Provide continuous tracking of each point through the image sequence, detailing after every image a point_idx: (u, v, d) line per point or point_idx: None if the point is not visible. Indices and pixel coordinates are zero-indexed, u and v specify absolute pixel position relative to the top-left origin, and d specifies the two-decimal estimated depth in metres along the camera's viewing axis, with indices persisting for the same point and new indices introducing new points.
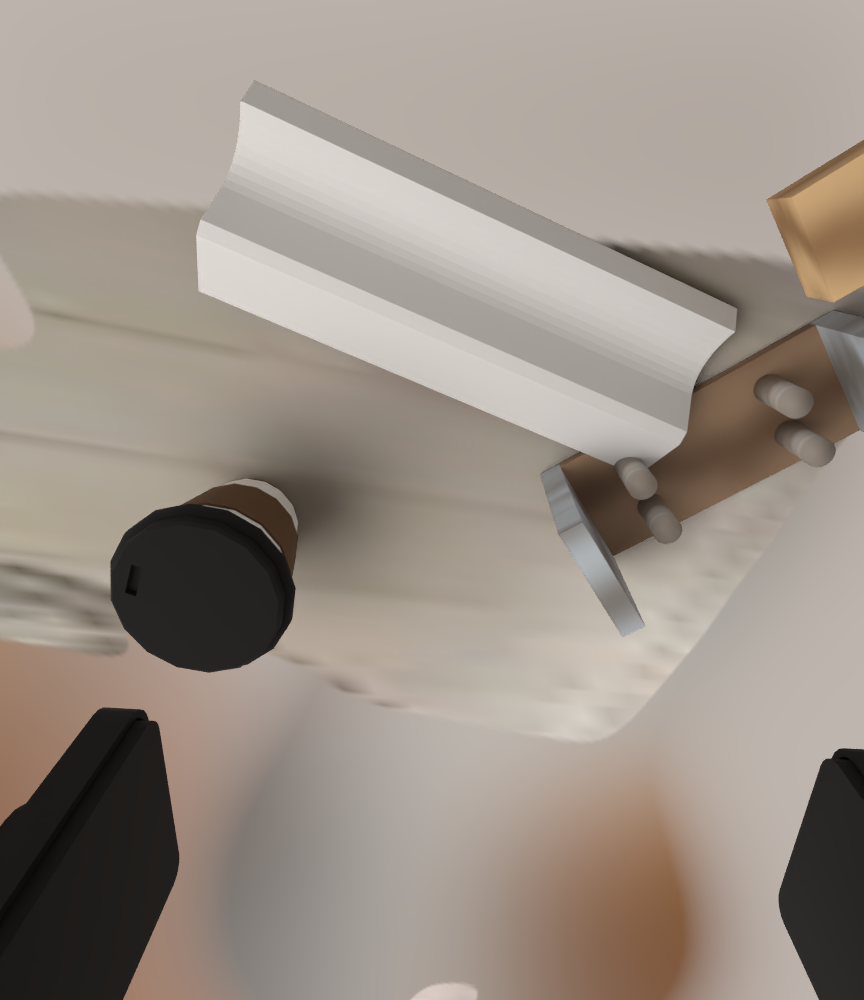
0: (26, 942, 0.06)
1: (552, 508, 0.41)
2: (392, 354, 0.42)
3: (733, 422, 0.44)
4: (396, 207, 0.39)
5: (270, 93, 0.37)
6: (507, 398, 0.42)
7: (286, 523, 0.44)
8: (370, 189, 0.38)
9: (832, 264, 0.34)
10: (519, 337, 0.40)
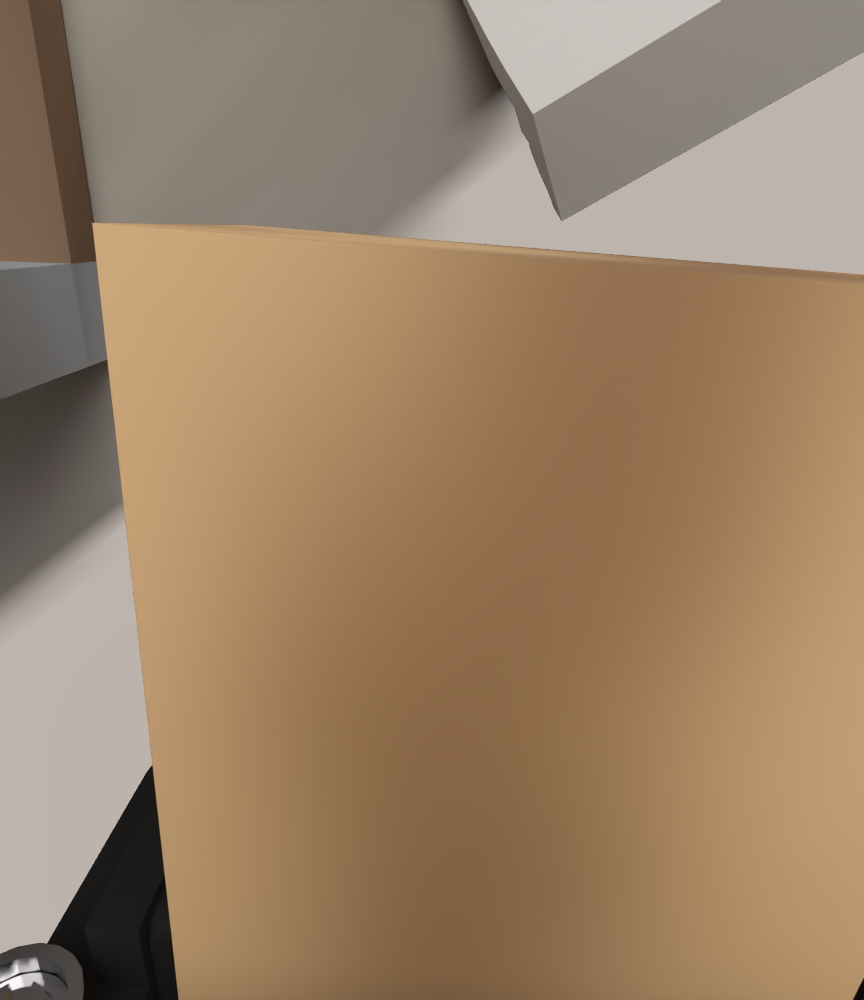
0: None
1: None
2: None
3: None
4: None
5: None
6: None
7: None
8: None
9: (426, 358, 0.04)
10: None
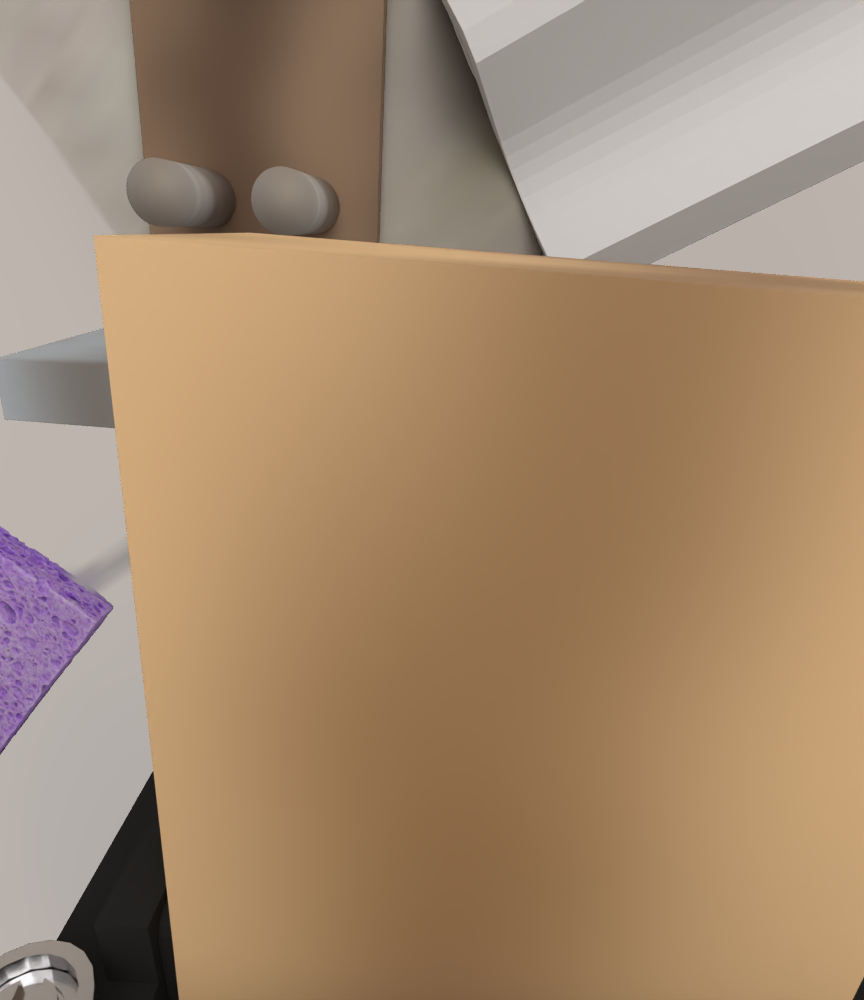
0: None
1: None
2: None
3: (283, 111, 0.22)
4: None
5: None
6: None
7: None
8: None
9: (425, 369, 0.04)
10: None
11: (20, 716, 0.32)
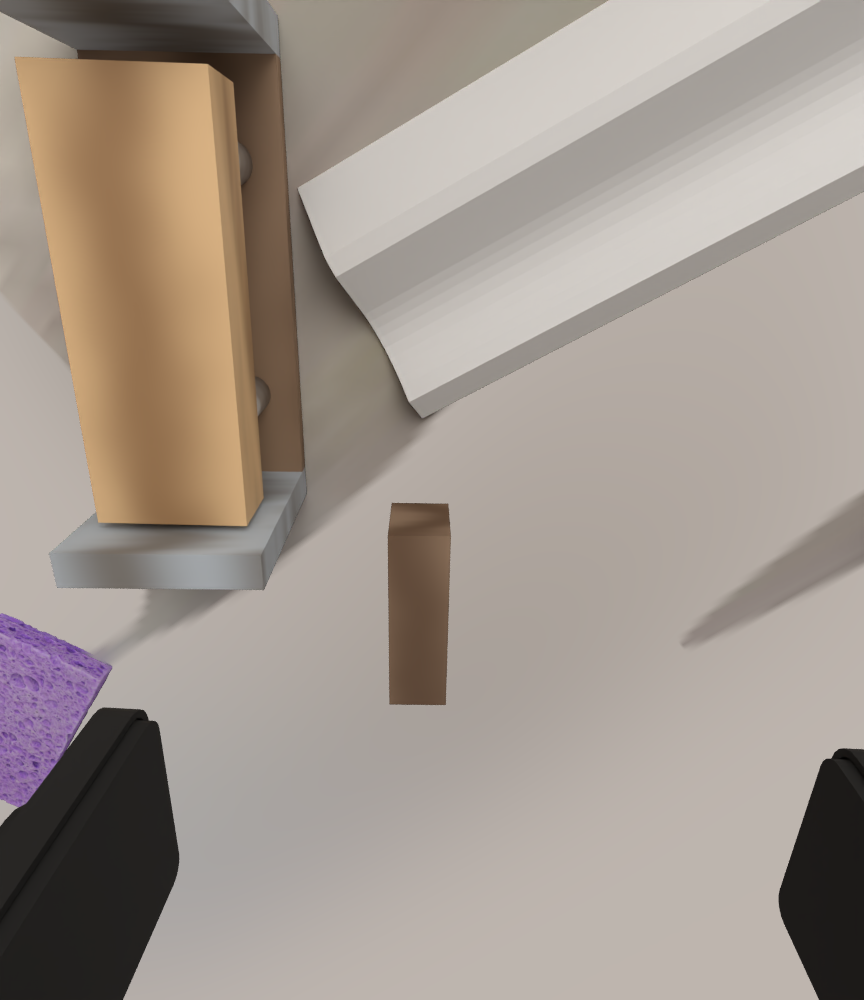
0: (24, 942, 0.06)
1: None
2: None
3: None
4: (836, 131, 0.28)
5: None
6: (537, 79, 0.27)
7: None
8: None
9: (78, 80, 0.21)
10: (600, 157, 0.27)
11: (54, 761, 0.41)
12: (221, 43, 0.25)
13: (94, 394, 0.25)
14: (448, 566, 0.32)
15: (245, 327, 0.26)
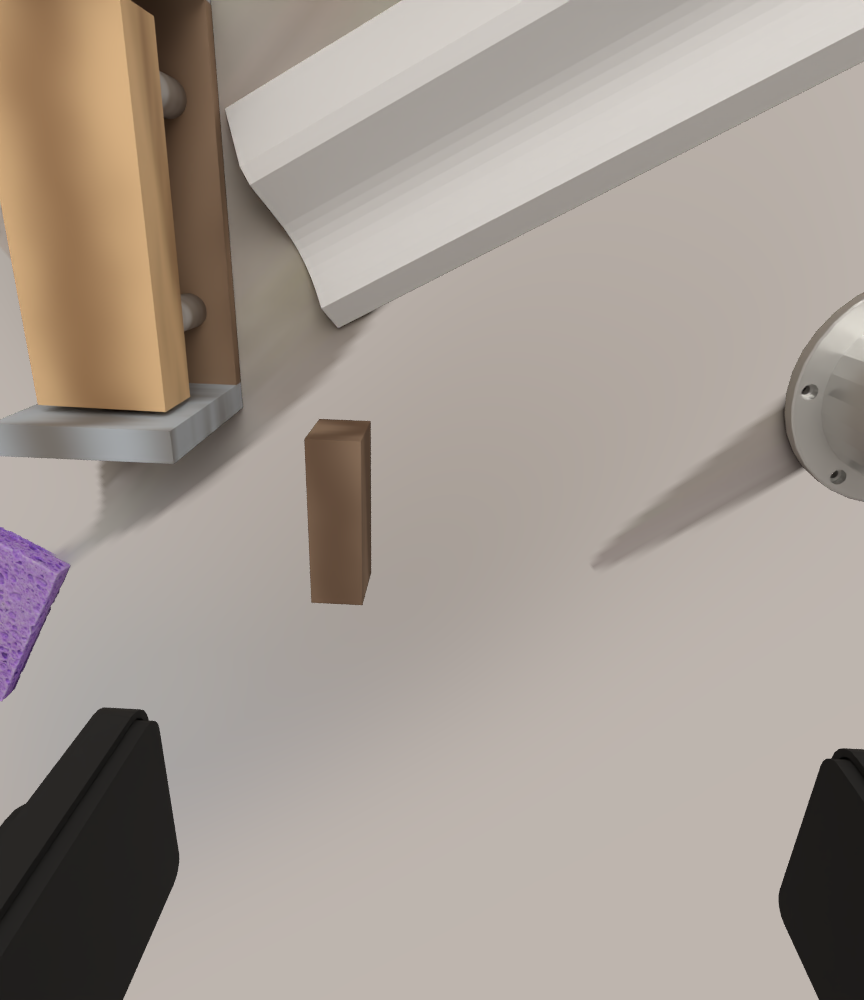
0: (24, 942, 0.06)
1: None
2: None
3: None
4: (708, 67, 0.31)
5: None
6: (432, 11, 0.30)
7: None
8: (748, 53, 0.31)
9: (13, 6, 0.25)
10: (487, 83, 0.31)
11: (20, 652, 0.45)
12: None
13: (31, 286, 0.29)
14: (359, 470, 0.36)
15: (166, 235, 0.30)
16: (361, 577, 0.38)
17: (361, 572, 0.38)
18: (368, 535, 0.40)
